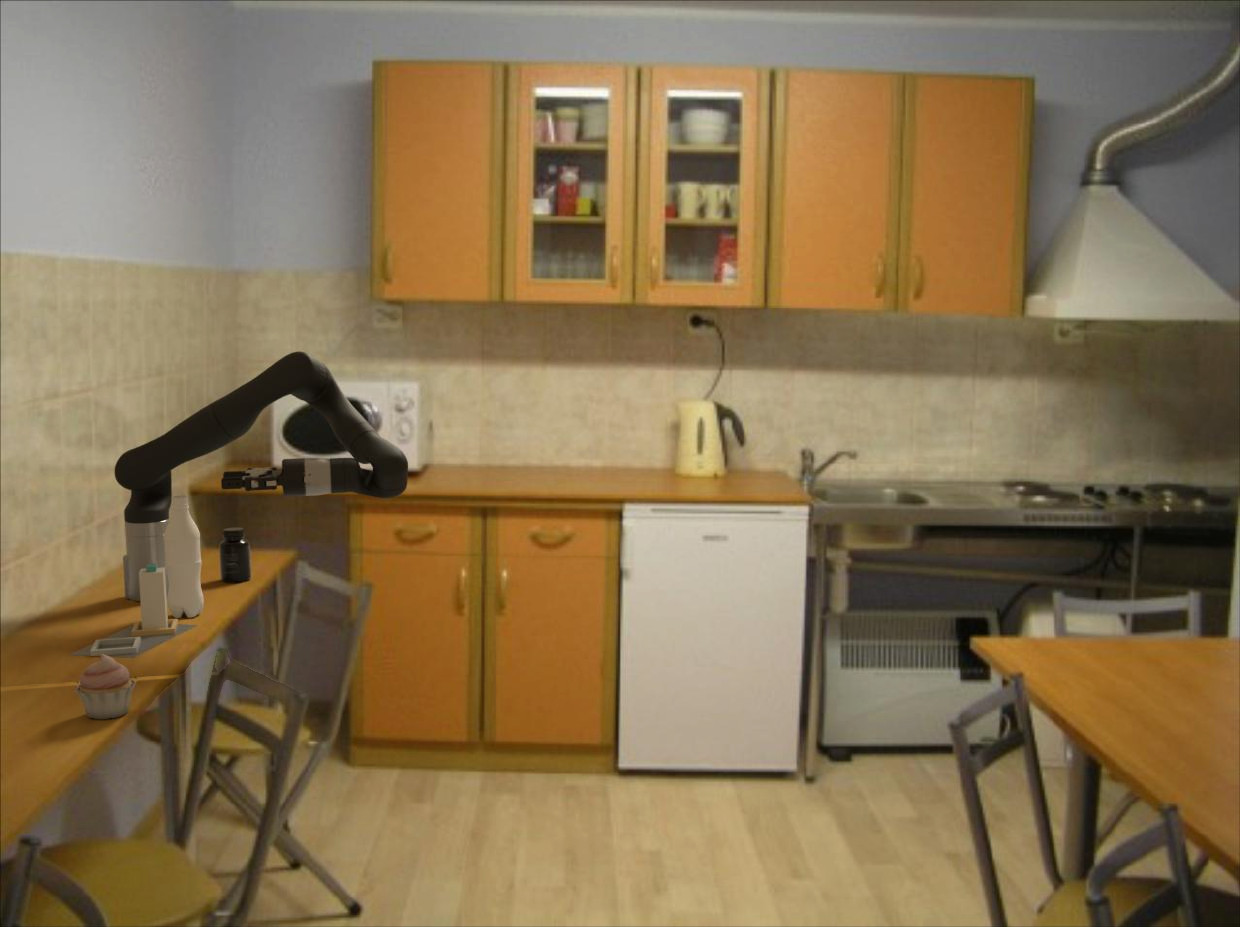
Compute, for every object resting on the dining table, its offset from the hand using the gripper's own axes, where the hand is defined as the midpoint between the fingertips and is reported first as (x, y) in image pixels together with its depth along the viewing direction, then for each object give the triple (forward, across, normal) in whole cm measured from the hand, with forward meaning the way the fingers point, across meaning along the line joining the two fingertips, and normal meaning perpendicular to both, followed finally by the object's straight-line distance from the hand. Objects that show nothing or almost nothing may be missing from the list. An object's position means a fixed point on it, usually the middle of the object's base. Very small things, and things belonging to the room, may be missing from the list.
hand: (222, 480), depth 272 cm
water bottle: (+9, -14, +30) cm, 35 cm away
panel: (+17, +5, +30) cm, 35 cm away
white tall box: (+14, -1, +29) cm, 33 cm away
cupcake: (+17, +51, +30) cm, 61 cm away
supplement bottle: (0, -46, +30) cm, 55 cm away
